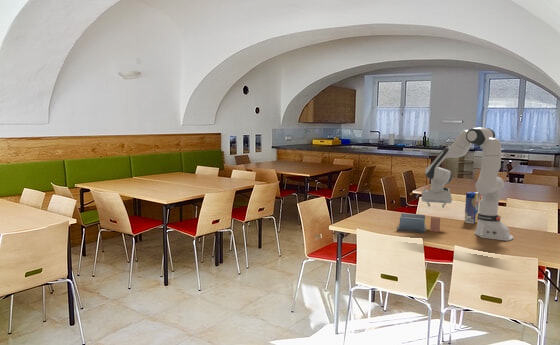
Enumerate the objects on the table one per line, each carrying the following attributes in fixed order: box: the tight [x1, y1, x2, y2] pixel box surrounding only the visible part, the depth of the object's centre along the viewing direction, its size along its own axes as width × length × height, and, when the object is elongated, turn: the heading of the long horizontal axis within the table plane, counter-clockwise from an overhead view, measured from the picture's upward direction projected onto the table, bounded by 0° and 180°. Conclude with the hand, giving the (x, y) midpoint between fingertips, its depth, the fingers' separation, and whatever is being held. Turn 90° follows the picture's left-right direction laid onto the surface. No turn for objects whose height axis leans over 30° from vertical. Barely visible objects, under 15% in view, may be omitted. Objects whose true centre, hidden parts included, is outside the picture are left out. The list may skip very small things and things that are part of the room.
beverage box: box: [463, 191, 480, 224], centre depth 321 cm, size 7×11×22 cm, turn 144°
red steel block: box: [429, 216, 441, 233], centre depth 292 cm, size 6×4×9 cm
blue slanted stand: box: [396, 216, 427, 234], centre depth 298 cm, size 18×20×8 cm
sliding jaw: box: [400, 212, 426, 225], centre depth 304 cm, size 16×2×7 cm, turn 70°
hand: (436, 206), depth 302 cm, fingers open, 8 cm apart
